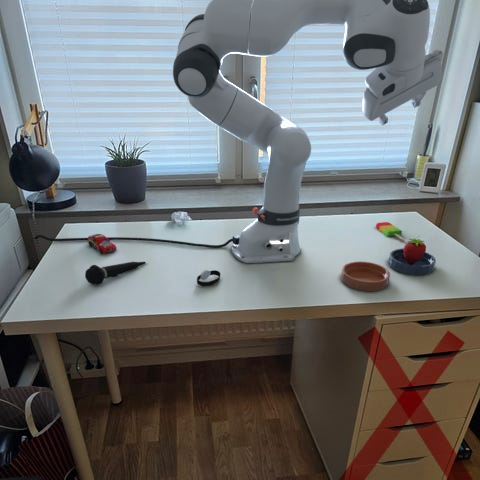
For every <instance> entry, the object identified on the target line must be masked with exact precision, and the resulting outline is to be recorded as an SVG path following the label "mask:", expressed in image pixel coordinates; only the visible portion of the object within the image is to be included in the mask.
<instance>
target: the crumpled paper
mask: <svg viewBox="0 0 480 480" xmlns="http://www.w3.org/2000/svg"><path fill="white" fill-rule="evenodd" d="M170 216H171V221H175V223H176V224H177V225H178V226H181V225H182V224H183V223H186V222H189V221H192V219H193V218H191V217H190V216H189V215H188V212H185V211H177V212H176V211H174V212H173V213H172V214H171V215H170Z"/></svg>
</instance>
